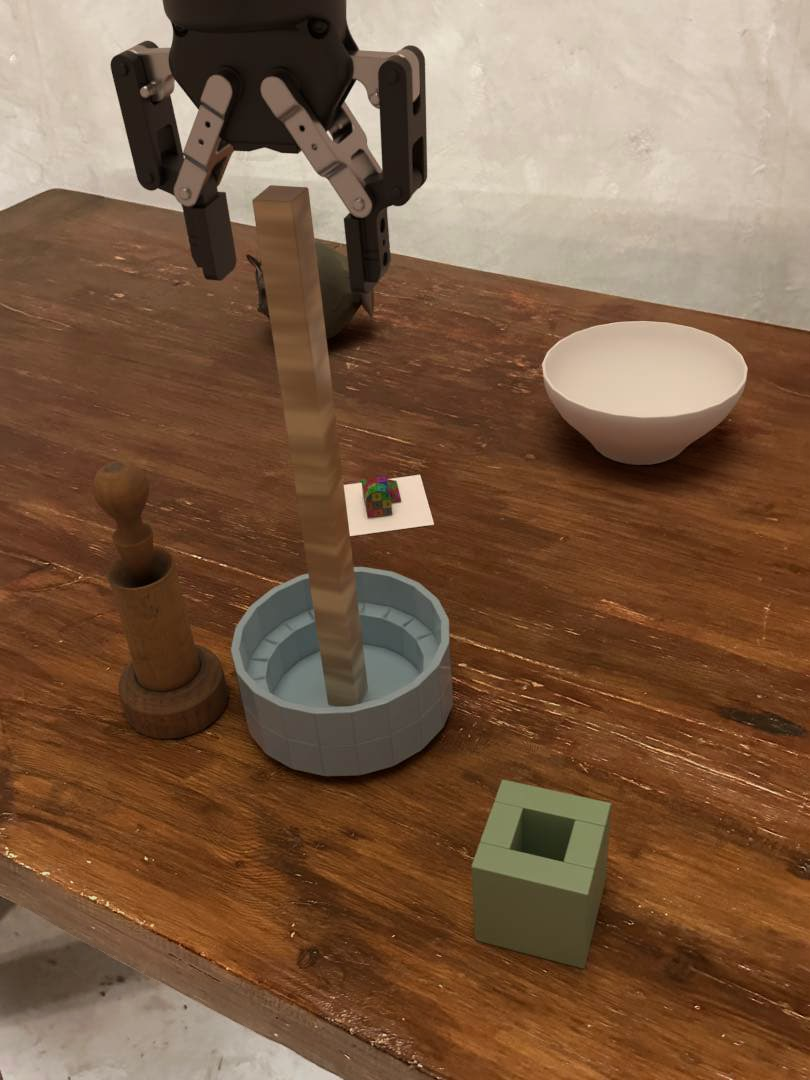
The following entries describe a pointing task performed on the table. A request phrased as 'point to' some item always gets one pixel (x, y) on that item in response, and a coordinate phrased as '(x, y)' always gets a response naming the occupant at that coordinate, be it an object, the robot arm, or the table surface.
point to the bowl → (643, 387)
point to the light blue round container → (391, 667)
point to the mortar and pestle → (155, 621)
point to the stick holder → (541, 872)
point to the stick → (312, 432)
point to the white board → (386, 505)
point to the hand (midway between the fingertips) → (293, 279)
